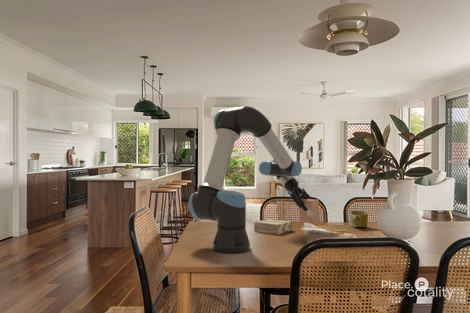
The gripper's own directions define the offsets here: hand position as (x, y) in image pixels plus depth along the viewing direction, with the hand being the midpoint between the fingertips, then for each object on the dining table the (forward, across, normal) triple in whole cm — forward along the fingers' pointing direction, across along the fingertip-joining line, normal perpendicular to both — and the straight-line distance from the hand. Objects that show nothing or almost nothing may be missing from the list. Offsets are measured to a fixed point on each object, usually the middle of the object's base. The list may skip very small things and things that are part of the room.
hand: (315, 214), depth 182 cm
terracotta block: (0, 0, -5) cm, 5 cm away
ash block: (-5, +14, -18) cm, 24 cm away
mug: (+15, -24, +3) cm, 28 cm away
